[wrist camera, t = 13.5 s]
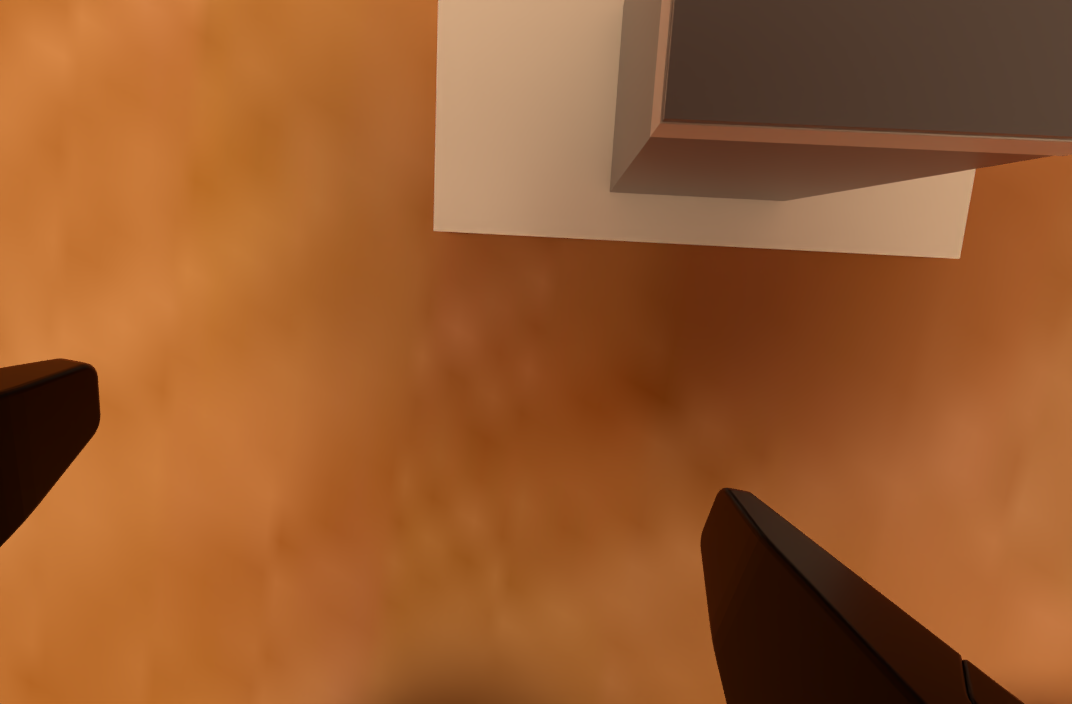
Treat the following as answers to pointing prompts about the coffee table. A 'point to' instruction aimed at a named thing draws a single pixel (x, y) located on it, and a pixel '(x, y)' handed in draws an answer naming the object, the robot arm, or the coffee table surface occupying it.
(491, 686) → the coffee table surface
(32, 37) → the coffee table surface
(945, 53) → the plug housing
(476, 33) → the board
